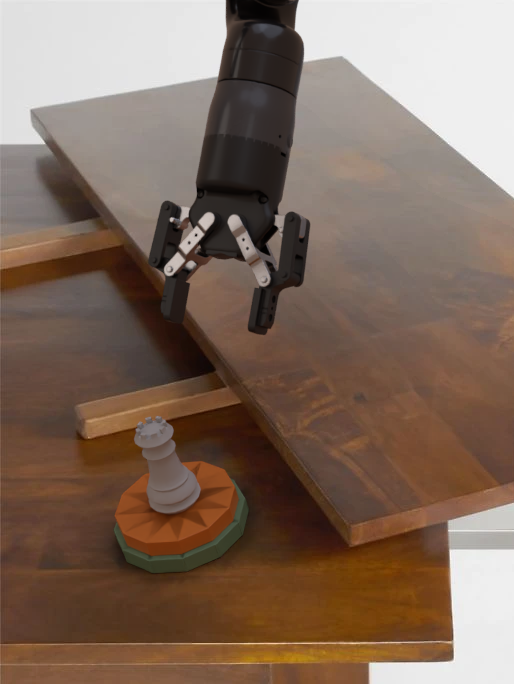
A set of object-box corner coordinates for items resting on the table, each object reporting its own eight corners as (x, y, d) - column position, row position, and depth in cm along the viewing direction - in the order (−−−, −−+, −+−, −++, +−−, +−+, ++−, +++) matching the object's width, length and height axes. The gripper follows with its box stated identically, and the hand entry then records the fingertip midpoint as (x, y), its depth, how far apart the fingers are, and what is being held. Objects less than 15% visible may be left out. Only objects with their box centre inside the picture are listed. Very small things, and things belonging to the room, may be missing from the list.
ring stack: (106, 576, 115) (95, 550, 113) (136, 487, 123) (127, 462, 122) (234, 569, 113) (226, 542, 111) (257, 479, 122) (249, 453, 120)
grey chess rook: (176, 523, 114) (150, 449, 109) (139, 507, 116) (112, 433, 112) (212, 491, 116) (189, 417, 112) (175, 475, 119) (150, 402, 114)
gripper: (154, 126, 119) (120, 311, 118) (299, 135, 113) (264, 329, 112) (201, 151, 126) (169, 326, 125) (339, 160, 120) (307, 344, 119)
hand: (214, 327), depth 119 cm, fingers open, 8 cm apart
